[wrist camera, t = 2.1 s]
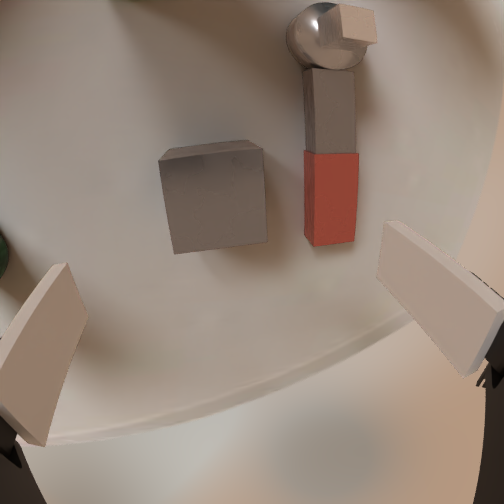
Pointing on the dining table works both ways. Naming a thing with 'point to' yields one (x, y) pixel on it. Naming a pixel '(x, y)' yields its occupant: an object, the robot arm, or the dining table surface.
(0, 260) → the coffee jar
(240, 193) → the grey wooden cube
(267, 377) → the dining table surface
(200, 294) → the dining table surface
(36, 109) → the dining table surface
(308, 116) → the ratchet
